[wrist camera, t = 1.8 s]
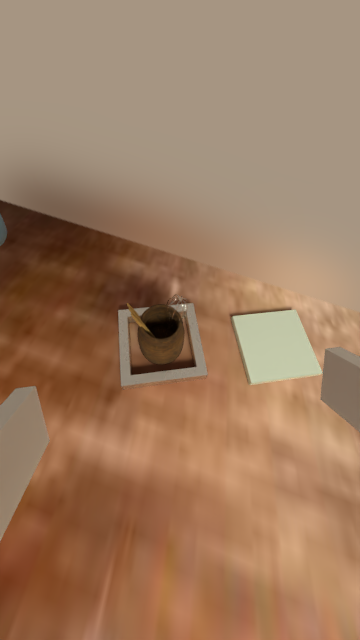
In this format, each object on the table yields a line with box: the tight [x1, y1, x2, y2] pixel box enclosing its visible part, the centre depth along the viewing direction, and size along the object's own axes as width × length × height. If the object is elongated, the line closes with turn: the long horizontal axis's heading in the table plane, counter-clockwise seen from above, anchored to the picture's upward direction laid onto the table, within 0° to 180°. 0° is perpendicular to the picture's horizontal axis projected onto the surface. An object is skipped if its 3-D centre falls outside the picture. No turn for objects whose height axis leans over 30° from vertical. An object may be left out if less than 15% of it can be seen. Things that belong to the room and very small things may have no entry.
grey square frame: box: [118, 303, 208, 390], centre depth 35 cm, size 11×11×2 cm
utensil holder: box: [127, 295, 188, 364], centre depth 30 cm, size 6×6×12 cm
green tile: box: [231, 310, 322, 385], centre depth 36 cm, size 10×10×1 cm
